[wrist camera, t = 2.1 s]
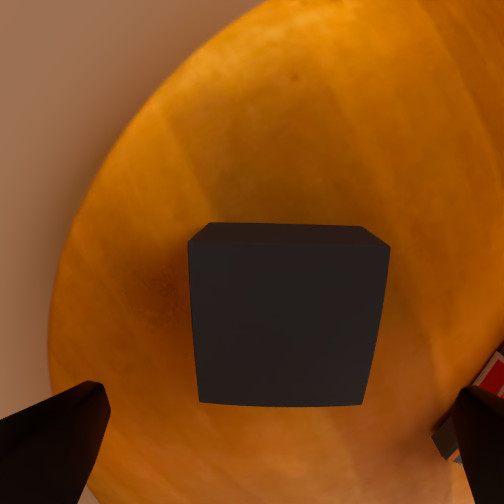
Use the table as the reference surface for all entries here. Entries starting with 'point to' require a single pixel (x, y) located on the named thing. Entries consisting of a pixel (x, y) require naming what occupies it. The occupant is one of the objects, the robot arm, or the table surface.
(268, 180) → the table surface
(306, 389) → the dark grey square block
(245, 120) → the table surface
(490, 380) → the electronic device
